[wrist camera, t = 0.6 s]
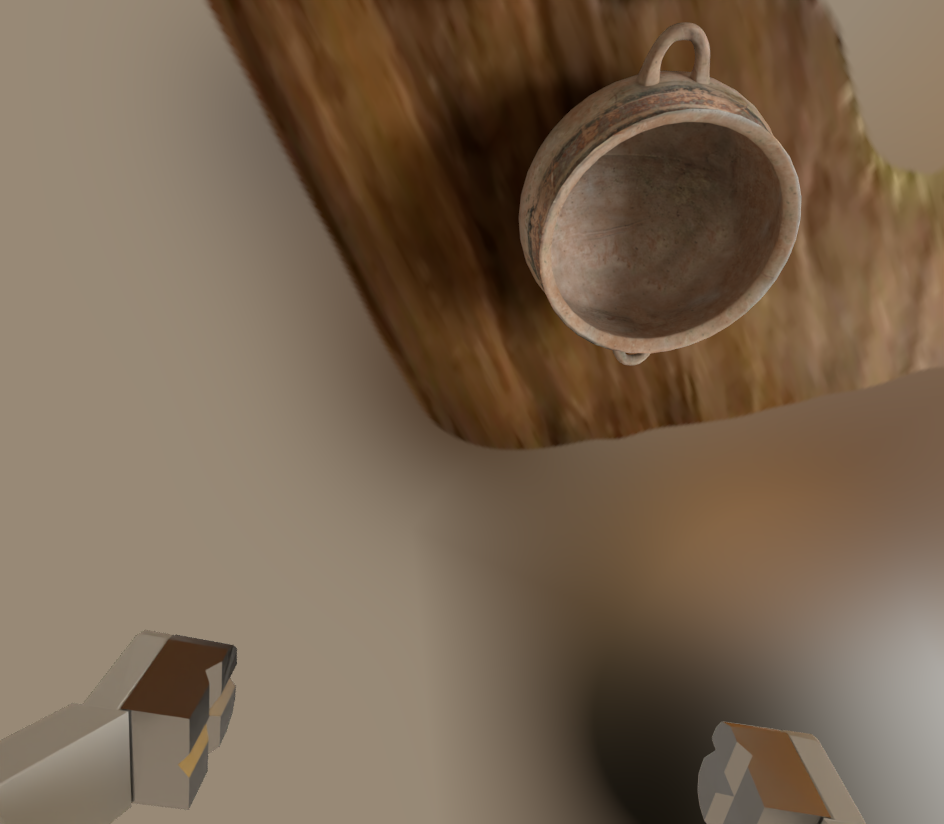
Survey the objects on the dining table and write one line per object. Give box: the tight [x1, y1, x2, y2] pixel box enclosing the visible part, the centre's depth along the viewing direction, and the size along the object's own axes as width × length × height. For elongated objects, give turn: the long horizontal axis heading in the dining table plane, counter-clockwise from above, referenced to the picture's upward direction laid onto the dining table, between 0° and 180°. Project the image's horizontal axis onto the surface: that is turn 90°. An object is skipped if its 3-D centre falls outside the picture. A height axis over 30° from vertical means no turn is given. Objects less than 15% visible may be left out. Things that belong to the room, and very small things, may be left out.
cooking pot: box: [519, 23, 801, 365], centre depth 48 cm, size 25×19×12 cm
